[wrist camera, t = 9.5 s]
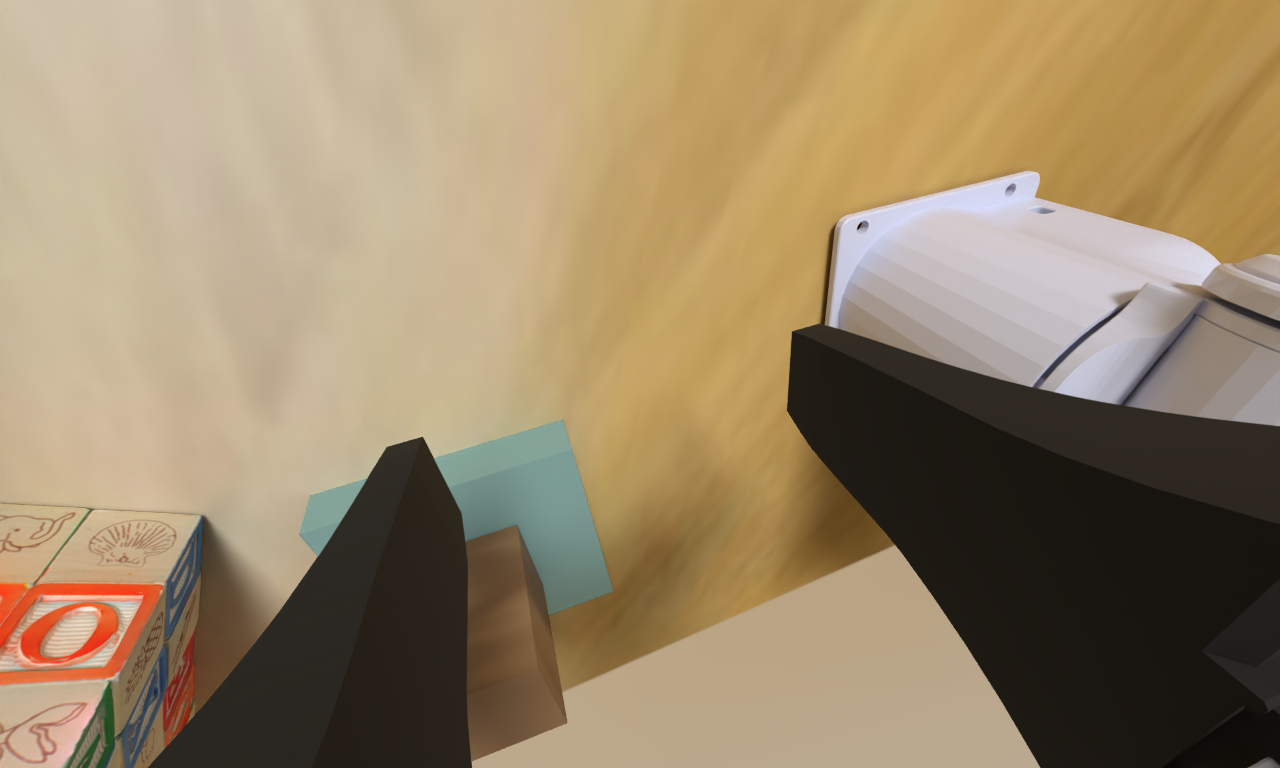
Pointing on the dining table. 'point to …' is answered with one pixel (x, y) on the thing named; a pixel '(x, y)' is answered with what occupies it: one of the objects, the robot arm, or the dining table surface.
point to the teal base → (509, 508)
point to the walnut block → (508, 647)
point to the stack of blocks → (95, 634)
